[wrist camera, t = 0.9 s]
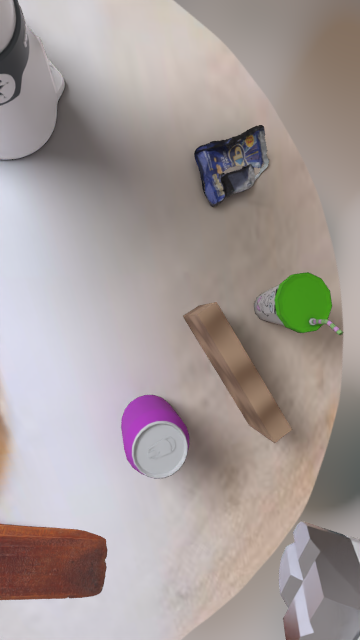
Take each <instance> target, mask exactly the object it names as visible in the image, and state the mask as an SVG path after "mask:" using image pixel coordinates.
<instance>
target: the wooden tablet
mask: <svg viewBox="0 0 360 640" xmlns="http://www.w3.org/2000/svg"><path fill="white" fill-rule="evenodd" d="M106 557H107V547H106V539H104V538H103V537H101V536H98V535H95V534H93V533H89V532H86V531H82V530H77V529H61V528H47V527H28V526H16V525H4V524H0V600H21V599H63V598H67V597H69V598H82V597H89V596H94V595H97V594H99V593H100V592H101V590H102V587H103V584H104V579H105V572H106V563H105V559H106Z"/></svg>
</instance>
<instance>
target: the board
mask: <svg viewBox="0 0 360 640" xmlns="http://www.w3.org/2000/svg"><path fill="white" fill-rule="evenodd" d="M183 317H184V319H185V320H186V322H187V324H188V325H189V327H190V329H191V330H192V332H193V334H194V335H195V337H196V339H197V340H198V342H199V343H200V345H201V347H202V348H203V350H204V352H205V353H206V355H207V357H208V358H209V360H210V362H211V363H212V365H213V366H214V368H215V370H216V371H217V373H218V375H219V376H220V378H221V380H222V381H223V383H224V385H225V386H226V388H227V389H228V391H229V393H230V394H231V396H232V398H233V399H234V401H235V403H236V404H237V406H238V408H239V409H240V411H241V412H242V414H243V416H244V417H245V419H246V421H247V422H248V424H249V425H250V426H251V427H253V428H254V429H256V430H257V431H258V432H260V433H261V434H263V435H264V436H265V437H267V438H268V439H270V440H271V441H273V442H274V443H276V442H277V441H278V440H279V439H281V438H282V437H283V436H285V435H286V434H287V433H288V432H290V431H291V430H292V429H291V427H290V425H289V424H288V422H287V420H286V418H285V417H284V415H283V413H282V412H281V410H280V408H279V407H278V405H277V403H276V402H275V400H274V398H273V397H272V395H271V393H270V391H269V390H268V388H267V386H266V385H265V383H264V381H263V380H262V378H261V376H260V375H259V373H258V371H257V370H256V368H255V366H254V365H253V363H252V361H251V359H250V358H249V356H248V354H247V353H246V351H245V349H244V348H243V346H242V344H241V343H240V341H239V339H238V338H237V336H236V334H235V332H234V331H233V329H232V327H231V326H230V324H229V322H228V321H227V319H226V317H225V316H224V314H223V312H222V311H221V309H220V307H219V306H218V304H217V302H214V303H210V304H205V305H200V306H198V307H196V308H195V309H193V310H192V311H190V312H189V313H187V314H185V315H184V316H183Z"/></svg>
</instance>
